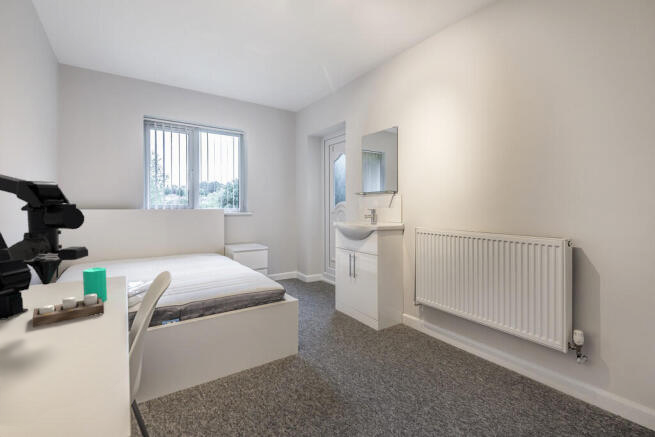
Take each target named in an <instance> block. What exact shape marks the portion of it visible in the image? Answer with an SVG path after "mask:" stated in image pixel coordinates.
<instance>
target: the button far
mask: <svg viewBox="0 0 655 437" xmlns="http://www.w3.org/2000/svg"><path fill="white" fill-rule="evenodd" d="M83 300H84V306H89V305H94V304H97V294H88V295H85V296H84V295H83Z"/></svg>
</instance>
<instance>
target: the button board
mask: <svg viewBox="0 0 655 437" xmlns="http://www.w3.org/2000/svg"><path fill="white" fill-rule="evenodd" d="M76 306H77V308H72V309H66V310H63V303H60V304H56V305H55V304H54V312H50V313H44V314H39V308H40V307H38V308H33V312H32V327H33V328H36V327H37V328H38V327H42V326H47V325H51V324H57V323H60V322H61V323H62V322H67V321H72V320H76V319H82V318H86V317H92V316H96V315H95V314H97V315H101V314H100V313H102V314H105V306H104V302H102V300H101V298H97V304H94V305H89V306H84V299H83V300H79V301H77V300H76ZM91 315H92V316H91Z"/></svg>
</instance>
